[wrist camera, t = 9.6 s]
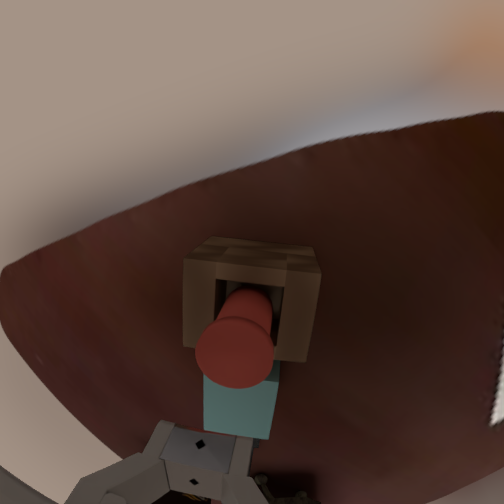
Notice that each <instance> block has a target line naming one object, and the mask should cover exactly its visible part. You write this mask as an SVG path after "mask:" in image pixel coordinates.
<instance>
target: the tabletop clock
mask: <svg viewBox="0 0 504 504" xmlns="http://www.w3.org/2000/svg"><path fill="white" fill-rule="evenodd" d="M254 481H255V483H256V484H258V485H261V487H262V490H263V493H264V496H265V499H266V500H267V502H268V503H269V504H321V502H318V501H315V500H312V499H310V498H307V493H306V492H305V491H298V492H297V493H296V494H295V497H290V498H274V497H273V496H272V495H271V493H270V491H269V490H268V488H267V486H266V485H265V483H266V482H267V477H266V476H265V475H264V474H258V475H257V476H255V480H254Z"/></svg>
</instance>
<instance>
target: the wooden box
mask: <svg viewBox="0 0 504 504" xmlns="http://www.w3.org/2000/svg"><path fill="white" fill-rule="evenodd" d="M321 276H322V273H321V270H320V268H319V265H318V262H317V259H316V256H315V253H314V250H313V248H312V247H308V246H299V245H290V244H281V243H272V242H263V241H253V240H244V239H234V238H225V237H215V236H211V237H210V238H208V239H207V240H206V241H205V242H203V243H202V244H201V245H200V246H198V247H197V248H196V249H194V250H193V251H192V252H191V253H189V254H188V255H187V256H186V257H184V258H183V346H185V347H191V348H196V344H197V342H198V340H199V338H200V336H201V334H202V332H203V331H204V329H205V328H206V327H207V326H208V325H209V324H210V323H212V322H213V321H215V320H216V319H217V317H218V315H219V313H220V311H221V309H222V307H223V305H224V303H225V301H226V299H227V297H228V295H229V294H230V293H231V292H232V291H233V290H234V289H236V288H238V287H241V286H254V287H258V288H260V289H261V290H263V291H264V292H266V293H267V294H268V296H269V297H270V299H271V301H272V304H273V314H272V322H271V330H270V337H271V339H272V342H273V346H274V358H273V360H282V361H292V362H303V363H306V359H307V354H308V349H309V344H310V339H311V333H312V328H313V323H314V317H315V312H316V306H317V300H318V294H319V288H320V282H321Z"/></svg>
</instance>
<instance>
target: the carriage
mask: <svg viewBox="0 0 504 504" xmlns="http://www.w3.org/2000/svg"><path fill="white" fill-rule="evenodd" d="M279 374H280V360H273V366H272V369H271V371H270V373H269V375H268V376H267V377H266V378H265V379H264V380H263V381H262V382H260V383H259V384H257V385H255V386H252V387H249V388H243V389H234V388H228V387H224V386H221V385H219V384H217V383H215V382H213V381H212V380H210V379H209V378H208V377H207V376H206V375H205V374H204V430H208V431H213V432H219V433H226V434H232V435H238V436H245V437H252V438H259V439H269V433H270V428H271V423H272V418H273V413H274V407H275V402H276V396H277V391H278V385H279Z"/></svg>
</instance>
